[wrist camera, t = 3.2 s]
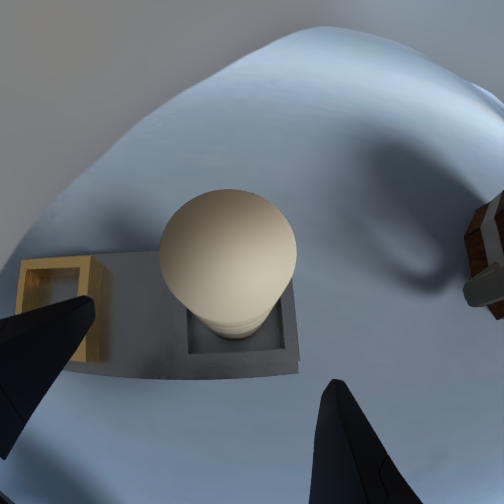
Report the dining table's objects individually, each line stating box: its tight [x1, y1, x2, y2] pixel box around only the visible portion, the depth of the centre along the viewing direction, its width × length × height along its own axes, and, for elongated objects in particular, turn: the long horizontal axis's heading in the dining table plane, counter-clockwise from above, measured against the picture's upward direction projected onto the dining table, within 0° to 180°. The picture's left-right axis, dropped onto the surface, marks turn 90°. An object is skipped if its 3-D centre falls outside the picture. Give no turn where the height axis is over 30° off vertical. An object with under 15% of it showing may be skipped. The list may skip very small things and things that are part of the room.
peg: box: [159, 189, 296, 341], centre depth 13 cm, size 4×4×11 cm
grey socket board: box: [15, 250, 300, 380], centre depth 18 cm, size 21×9×3 cm, turn 94°
